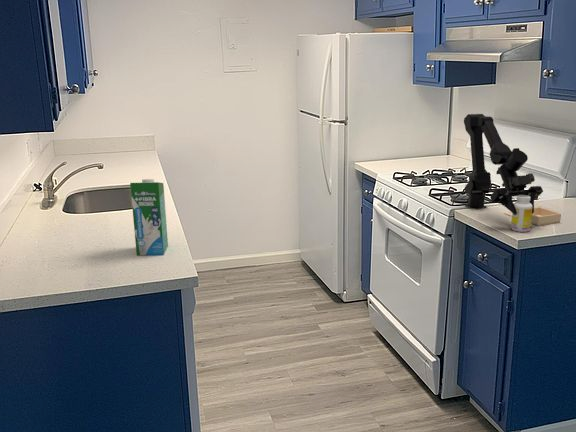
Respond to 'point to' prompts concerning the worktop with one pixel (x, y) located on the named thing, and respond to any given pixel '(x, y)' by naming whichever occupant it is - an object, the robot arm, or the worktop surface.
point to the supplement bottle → (522, 214)
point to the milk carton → (149, 217)
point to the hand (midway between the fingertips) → (524, 213)
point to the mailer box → (543, 216)
